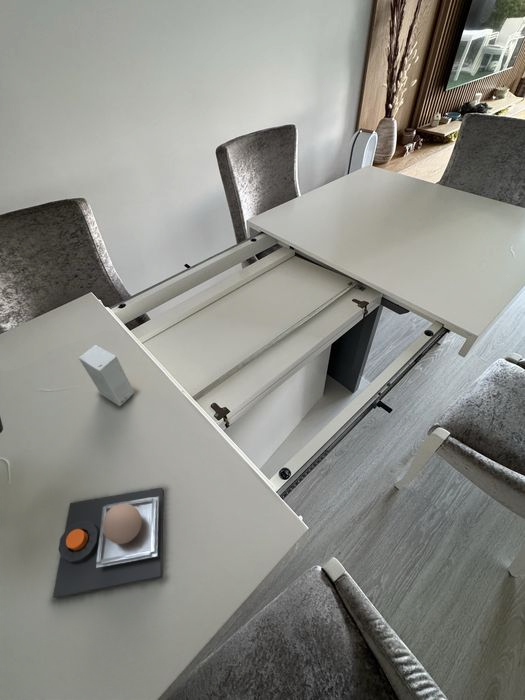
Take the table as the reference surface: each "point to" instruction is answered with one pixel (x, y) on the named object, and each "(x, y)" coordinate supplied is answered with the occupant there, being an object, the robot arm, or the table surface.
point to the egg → (121, 523)
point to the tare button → (76, 539)
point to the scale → (81, 564)
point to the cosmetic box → (107, 374)
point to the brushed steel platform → (137, 547)
